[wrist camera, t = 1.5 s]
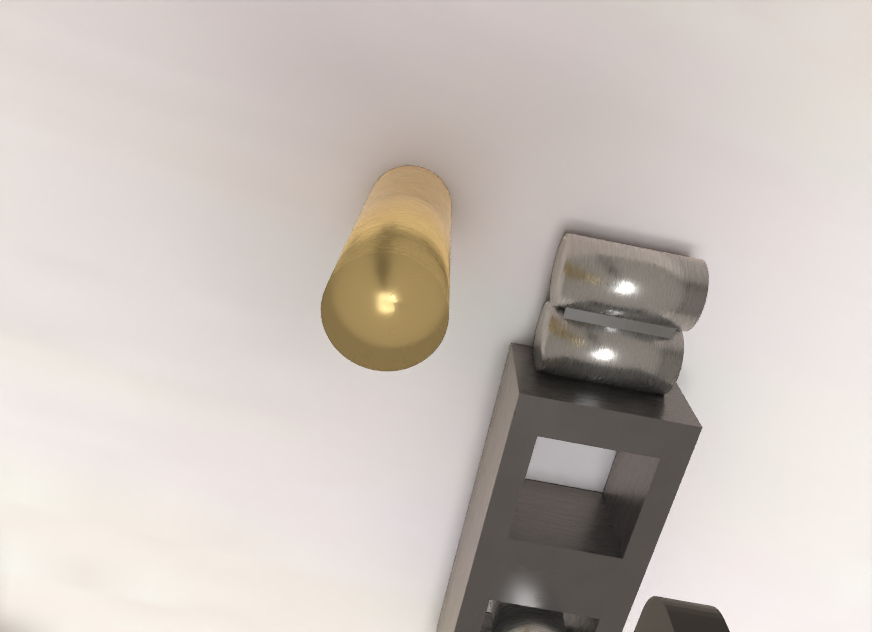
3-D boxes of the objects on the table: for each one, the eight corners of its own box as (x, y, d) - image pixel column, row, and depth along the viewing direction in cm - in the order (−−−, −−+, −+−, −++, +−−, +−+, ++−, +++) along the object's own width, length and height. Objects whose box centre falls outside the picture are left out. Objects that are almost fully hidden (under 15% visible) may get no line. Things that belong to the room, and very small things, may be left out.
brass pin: (375, 157, 26) (329, 241, 16) (459, 174, 26) (461, 266, 17) (362, 238, 27) (313, 358, 18) (442, 254, 27) (435, 381, 18)
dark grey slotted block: (543, 220, 26) (566, 276, 21) (714, 254, 27) (780, 318, 21) (416, 704, 36) (409, 830, 30) (543, 724, 36) (559, 853, 31)
